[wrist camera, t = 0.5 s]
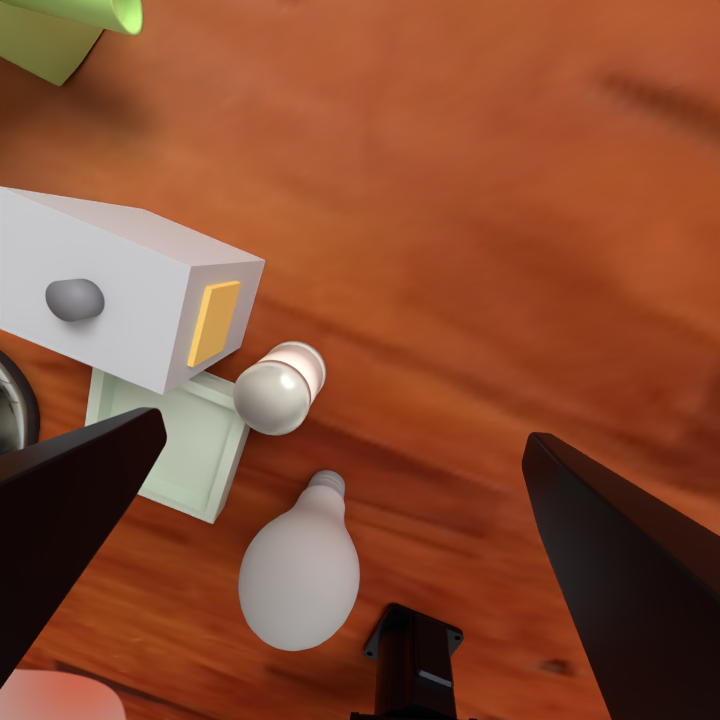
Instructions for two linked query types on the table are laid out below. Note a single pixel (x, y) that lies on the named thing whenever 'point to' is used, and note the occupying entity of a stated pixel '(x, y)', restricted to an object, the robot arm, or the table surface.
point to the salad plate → (16, 409)
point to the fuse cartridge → (280, 388)
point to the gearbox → (61, 32)
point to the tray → (182, 438)
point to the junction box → (121, 287)
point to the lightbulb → (301, 570)
